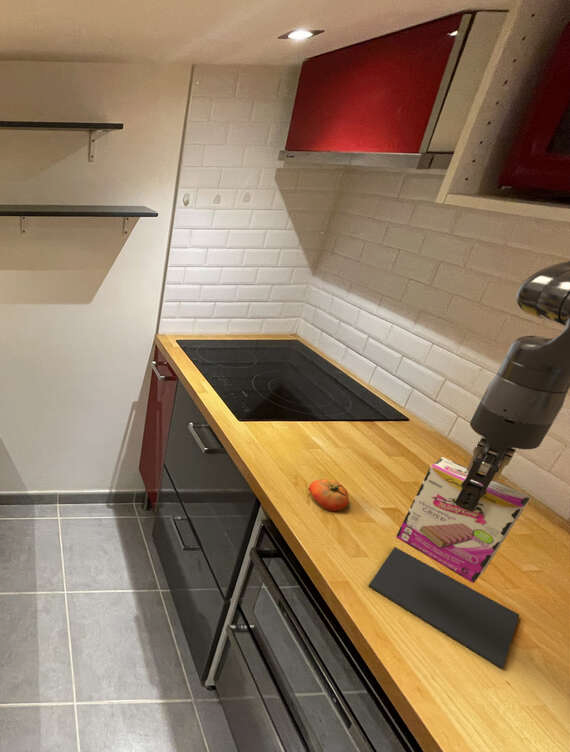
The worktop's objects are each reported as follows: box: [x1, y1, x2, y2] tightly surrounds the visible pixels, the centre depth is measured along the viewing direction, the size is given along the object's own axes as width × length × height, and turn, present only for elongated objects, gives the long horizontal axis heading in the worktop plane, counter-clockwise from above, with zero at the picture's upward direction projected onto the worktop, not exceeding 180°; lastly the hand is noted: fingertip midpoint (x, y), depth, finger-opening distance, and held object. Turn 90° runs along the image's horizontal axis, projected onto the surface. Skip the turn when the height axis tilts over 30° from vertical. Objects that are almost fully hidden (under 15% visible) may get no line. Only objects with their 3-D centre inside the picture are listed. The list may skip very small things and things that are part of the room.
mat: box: [368, 546, 520, 670], centre depth 79 cm, size 18×14×1 cm
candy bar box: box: [395, 456, 532, 584], centre depth 73 cm, size 11×5×16 cm, turn 32°
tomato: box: [307, 478, 350, 512], centre depth 101 cm, size 8×7×7 cm
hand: (468, 499), depth 71 cm, fingers closed on candy bar box, 5 cm apart
